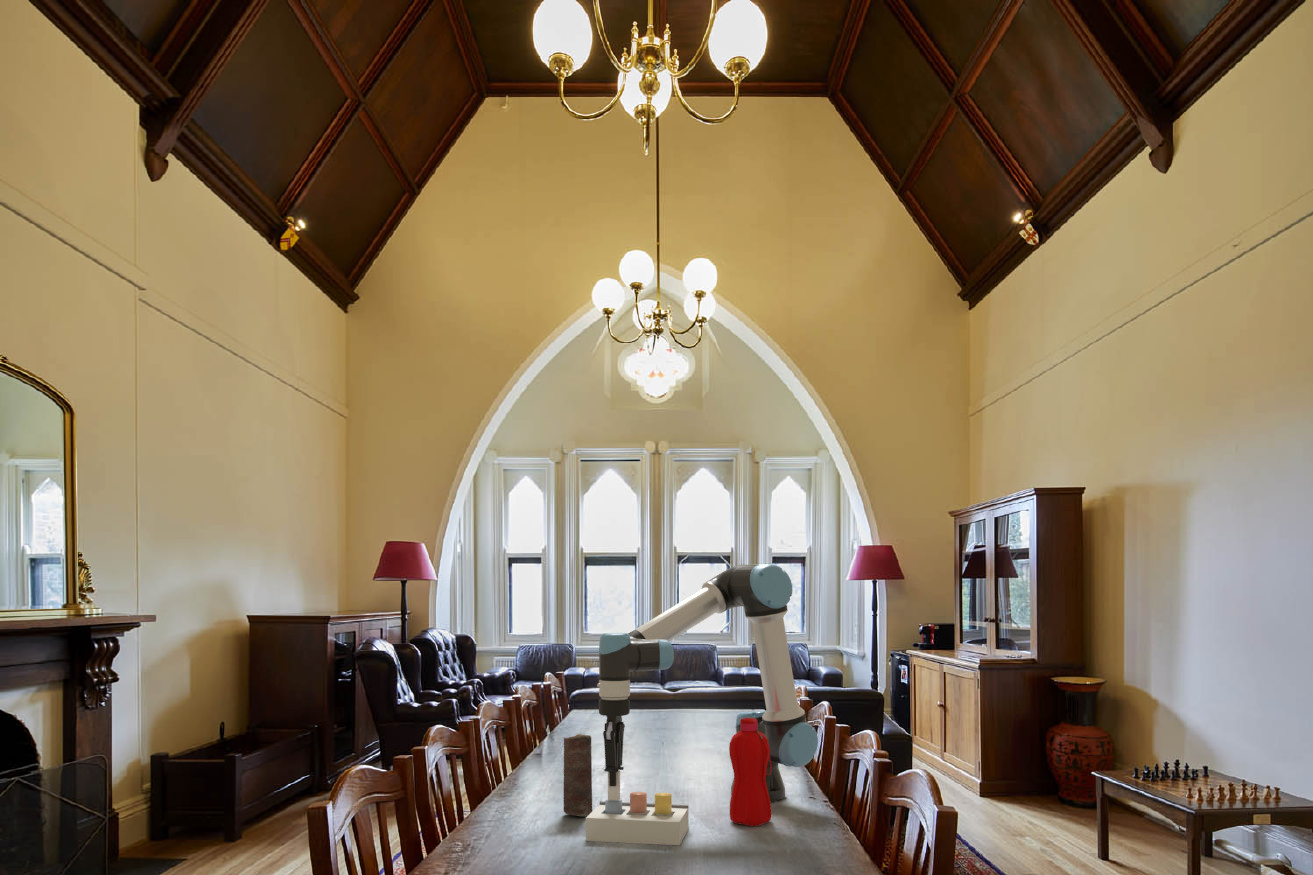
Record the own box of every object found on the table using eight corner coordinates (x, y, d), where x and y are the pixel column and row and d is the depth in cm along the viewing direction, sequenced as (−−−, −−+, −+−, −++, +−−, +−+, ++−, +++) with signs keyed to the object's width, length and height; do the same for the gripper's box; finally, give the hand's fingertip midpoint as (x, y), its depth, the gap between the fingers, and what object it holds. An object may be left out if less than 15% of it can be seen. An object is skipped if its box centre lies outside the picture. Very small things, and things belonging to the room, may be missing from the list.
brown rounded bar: (567, 820, 230) (568, 737, 233) (558, 813, 236) (560, 733, 240) (596, 817, 233) (597, 735, 236) (586, 810, 240) (587, 731, 243)
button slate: (623, 816, 220) (623, 799, 221) (620, 820, 216) (620, 802, 217) (607, 815, 221) (607, 798, 221) (603, 819, 217) (603, 802, 217)
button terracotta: (648, 809, 219) (648, 791, 220) (644, 813, 215) (644, 795, 216) (631, 808, 220) (631, 791, 220) (628, 812, 216) (628, 795, 217)
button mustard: (672, 810, 218) (672, 792, 219) (670, 814, 214) (669, 796, 215) (656, 809, 219) (656, 792, 219) (653, 813, 215) (653, 796, 216)
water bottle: (761, 830, 221) (759, 722, 225) (724, 822, 228) (723, 718, 232) (782, 822, 228) (780, 718, 232) (746, 815, 235) (744, 714, 239)
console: (688, 829, 222) (688, 804, 222) (679, 845, 208) (679, 819, 209) (600, 824, 225) (600, 801, 226) (585, 840, 212) (585, 814, 213)
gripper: (605, 694, 230) (605, 792, 226) (592, 700, 217) (591, 805, 213) (634, 694, 228) (634, 793, 225) (623, 701, 216) (623, 806, 212)
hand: (613, 799), depth 219 cm, fingers closed
